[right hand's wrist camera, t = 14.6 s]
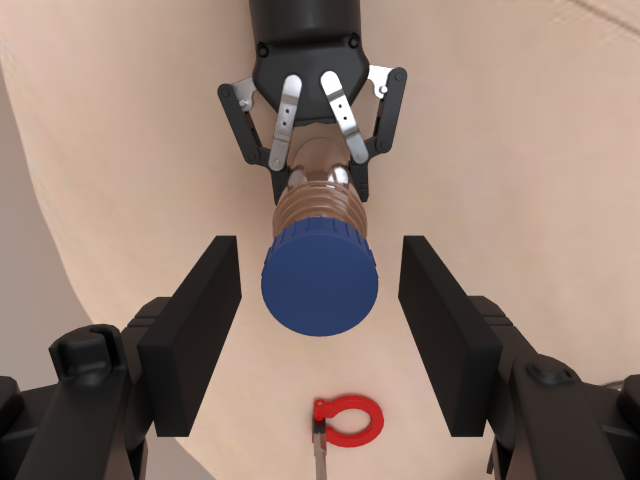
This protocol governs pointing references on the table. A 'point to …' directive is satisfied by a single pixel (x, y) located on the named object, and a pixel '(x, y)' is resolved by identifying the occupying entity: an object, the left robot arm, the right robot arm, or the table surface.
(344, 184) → the bottle
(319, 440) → the tow hook
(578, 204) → the table surface
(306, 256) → the cap
